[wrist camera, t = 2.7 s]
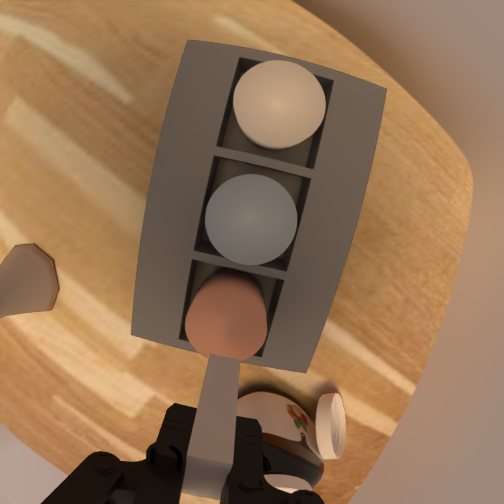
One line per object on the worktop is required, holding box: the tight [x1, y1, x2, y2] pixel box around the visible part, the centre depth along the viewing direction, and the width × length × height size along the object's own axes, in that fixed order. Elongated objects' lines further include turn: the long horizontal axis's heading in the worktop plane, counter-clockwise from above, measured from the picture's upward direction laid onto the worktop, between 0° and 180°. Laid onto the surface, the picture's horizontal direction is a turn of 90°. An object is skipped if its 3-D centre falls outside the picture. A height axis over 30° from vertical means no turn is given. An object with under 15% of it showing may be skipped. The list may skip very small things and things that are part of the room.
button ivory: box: [233, 60, 326, 151], centre depth 18 cm, size 5×5×4 cm
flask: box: [0, 244, 59, 318], centre depth 21 cm, size 7×7×10 cm
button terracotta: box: [185, 271, 267, 361], centre depth 21 cm, size 5×5×4 cm
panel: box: [131, 40, 387, 373], centre depth 22 cm, size 22×14×4 cm, turn 167°
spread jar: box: [236, 390, 346, 493], centre depth 23 cm, size 12×11×12 cm
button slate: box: [205, 174, 297, 265], centre depth 19 cm, size 5×5×4 cm
